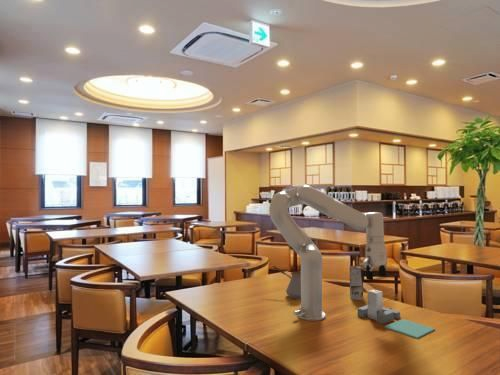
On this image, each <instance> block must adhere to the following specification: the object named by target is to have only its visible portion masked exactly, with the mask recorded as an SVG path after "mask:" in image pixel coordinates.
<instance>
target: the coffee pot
mask: <svg viewBox="0 0 500 375" xmlns="http://www.w3.org/2000/svg"><path fill="white" fill-rule="evenodd" d="M273 269H275V270H276V271H278V272H280V273H281V274H283V275H285V276H286V277H288V278H290V281H289V283H288V285H287V288H286V289H285V292H286V294H287V296H288V297H289V298H291V299H292V300H293V299H295V300H301V271H292V272H290V275H289V274H287V273H286V272H284V271H283V270H282V269H280V268H278V267H277V266H276V265H275V266H274V265H273V266H272V267H271V270H273Z"/></svg>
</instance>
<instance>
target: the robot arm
mask: <svg viewBox="0 0 500 375" xmlns="http://www.w3.org/2000/svg"><path fill="white" fill-rule="evenodd" d="M269 204H270V205H269V210H268V211H269V216H270V220H271V222H272V223H273V225H274V226H275V227H276V229H277V231H278V232H279V233H280V234H281V235H282V237H283V239H284V240H285V242H286V243H287V244H288V246H290V247H291V248H292V249H293V250H294V251H295V253H296V254H297V255H298V256H299V258H300V272H301V299H300V306H299V307H298V309H297V310H294V311H293V315H294V316H298V318H300V319H301V320H305V321H310V322H311V321H313V322H314V321H315V322H316V321H321V320H324V319H325V318H326V313H325V312H324V311H323V277H322V276H323V256H322V255H323V254H322V252H321V251H320V249H319V248H318V247H317V246H316V244H315V243H314V241H313V240H312V239H311V238H310V236H309V235H308V234H307V233H306V231H305V230H304V229H303V228H302V227H300V226H299V224H298V223H296V221H295V220H294V218H293V217H292V216H291V215H290V212H289V208H292V207H296V206H300V205H302V204H304V205H305V206H307V207H310V208H312V209H314V210H315V211H318V212H320V213H321V214H324V215H325V216H327V217H330V218H333V219H336V220H337V221H339V222H342V223H343V224H345V225H347V226H349V227H351V228H353V229H355V230H357V231H363V230H365V235H366V236H365V238H366V239H365V240H366V241H365V242H366V244H365V259H364V260H363V261H362V264H363V268H364V270H365V276H366V277H365V279H366V280H369V281H374V271H373V269H374V267H378V276H379V277H384V278H385V277H387V270H386V268H387V263H388V258H389V257H388V256H387V247H386V243H385V238H384V236H385V233H384V232H385V230H384V229H385V228H384V215H383V214H384V213H382V212H378V211H372V212H371V211H369V212H361V211H359V210H357V209H355V208H353V207H351V206H349V205H347V204H345V203H343V202H342V201H340V200H338V199H336V198H334V197H333V196H331V195H328V194H326V193H325V192H322V191H321V190H318V189H317V188H314V187H313V186H311V185H307V184H303V185H300V186H298V187H294V188H290V189H287V190H283V191H278V192H276V193H275V194H274V195H273V197H272V198H271V200H270V203H269Z"/></svg>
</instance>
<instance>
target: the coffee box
mask: <svg viewBox="0 0 500 375" xmlns="http://www.w3.org/2000/svg"><path fill="white" fill-rule="evenodd" d="M363 268H364V267H362V266H361V265H349V296H350V297H349V298H350V300H355V301H364V269H363Z"/></svg>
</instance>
